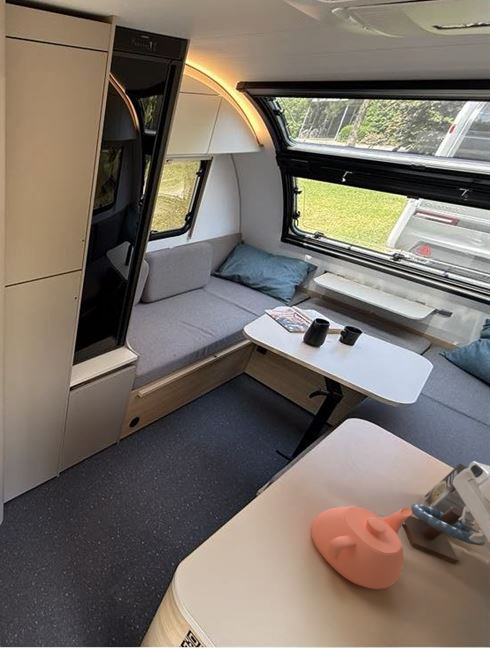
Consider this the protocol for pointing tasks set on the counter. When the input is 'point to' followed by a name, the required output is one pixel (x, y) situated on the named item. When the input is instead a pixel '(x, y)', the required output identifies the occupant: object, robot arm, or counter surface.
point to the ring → (431, 519)
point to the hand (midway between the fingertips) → (467, 531)
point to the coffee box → (445, 493)
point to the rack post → (432, 535)
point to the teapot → (361, 544)
